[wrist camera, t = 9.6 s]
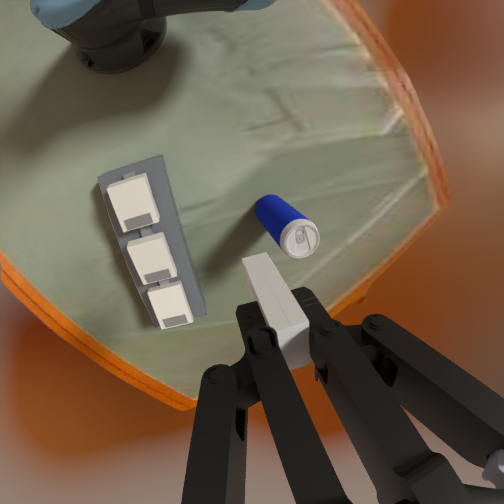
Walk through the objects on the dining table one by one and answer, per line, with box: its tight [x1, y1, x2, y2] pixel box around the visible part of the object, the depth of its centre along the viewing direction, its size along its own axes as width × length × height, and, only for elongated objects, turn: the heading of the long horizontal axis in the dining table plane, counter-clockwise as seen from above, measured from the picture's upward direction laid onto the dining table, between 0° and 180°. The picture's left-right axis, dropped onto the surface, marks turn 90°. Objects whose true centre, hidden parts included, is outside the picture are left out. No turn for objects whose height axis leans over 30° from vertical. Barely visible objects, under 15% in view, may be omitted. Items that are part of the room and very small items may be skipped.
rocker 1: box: [107, 173, 160, 232], centre depth 35 cm, size 7×6×2 cm
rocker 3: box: [147, 280, 193, 329], centre depth 43 cm, size 7×6×2 cm
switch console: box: [97, 154, 207, 327], centre depth 42 cm, size 28×10×5 cm, turn 10°
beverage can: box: [255, 195, 319, 258], centre depth 40 cm, size 5×5×15 cm
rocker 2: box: [127, 232, 177, 285], centre depth 39 cm, size 7×6×2 cm
